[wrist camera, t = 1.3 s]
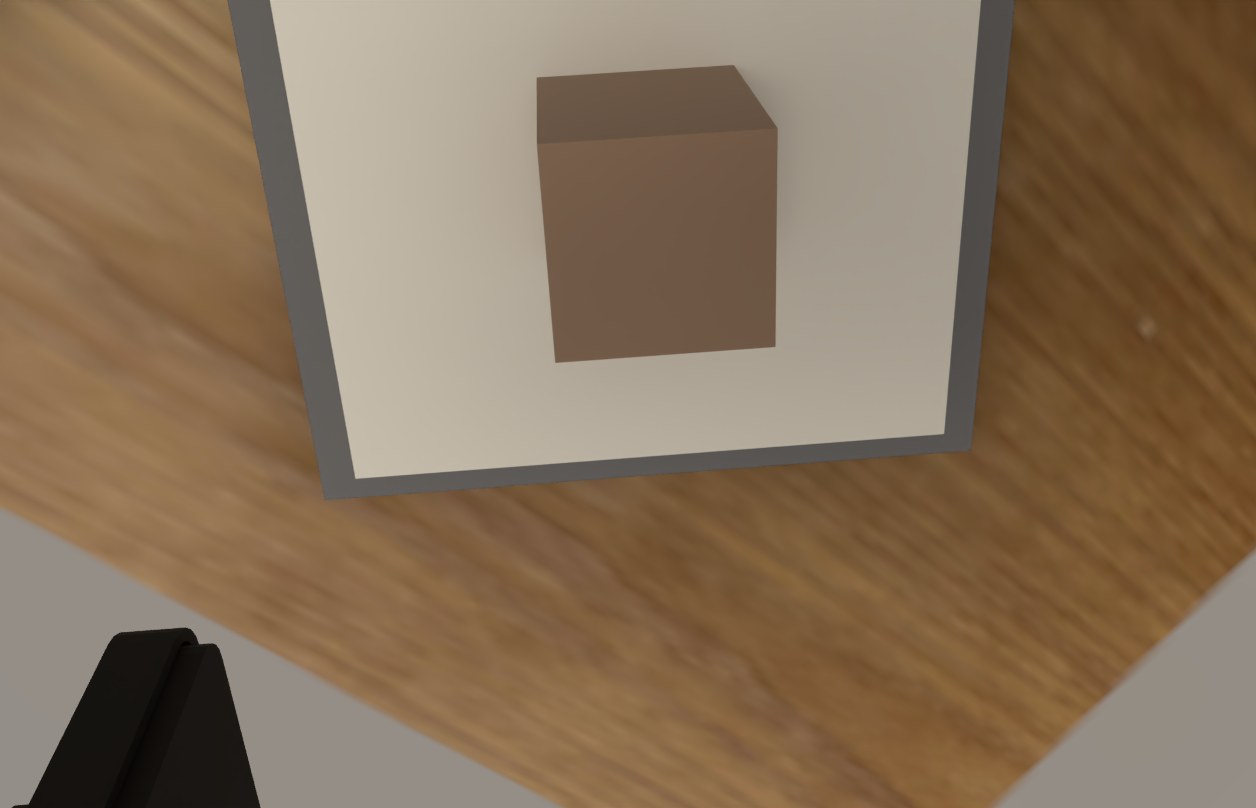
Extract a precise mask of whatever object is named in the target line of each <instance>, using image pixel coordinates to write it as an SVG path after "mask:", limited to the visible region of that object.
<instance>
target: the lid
mask: <svg viewBox="0 0 1256 808" xmlns="http://www.w3.org/2000/svg"><path fill="white" fill-rule="evenodd" d="M270 4H271V9H272V15H273V21H274V26H275V32H276V37H277V43H278V49H279V54H280V60H281V65H282V71H283V77H284V82H285V88H286V93H287V99H288V104H289V110H290V116H291V121H292V127H293V132H294V138H295V144H296V149H297V155H298V160H299V166H300V172H301V177H302V183H303V188H304V194H305V200H306V205H307V211H308V216H309V222H310V227H311V233H312V239H313V244H314V250H315V255H316V261H317V267H318V272H319V278H320V283H321V289H322V295H323V300H324V306H325V311H326V317H327V322H328V328H329V334H330V339H331V345H332V350H333V356H334V362H335V367H336V373H337V378H338V384H339V390H340V395H341V401H342V406H343V412H344V417H345V423H346V429H347V434H348V440H349V445H350V451H351V457H352V462H353V468H354V473H355V479H359V478H372V477H385V476H398V475H412V474H425V473H438V472H451V471H464V470H477V469H490V468H504V467H517V466H530V465H543V464H556V463H569V462H583V461H596V460H609V459H622V458H635V457H648V456H661V455H675V454H688V453H701V452H714V451H727V450H740V449H754V448H767V447H780V446H793V445H806V444H819V443H832V442H846V441H859V440H872V439H885V438H898V437H911V436H925V435H938V434H944V429H945V417H946V405H947V394H948V382H949V370H950V358H951V346H952V335H953V323H954V311H955V299H956V287H957V276H958V264H959V252H960V240H961V229H962V217H963V205H964V193H965V181H966V170H967V158H968V146H969V134H970V122H971V111H972V99H973V87H974V75H975V63H976V52H977V40H978V28H979V16H980V4H981V0H270Z"/></svg>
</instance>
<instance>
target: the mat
mask: <svg viewBox="0 0 1256 808" xmlns="http://www.w3.org/2000/svg"><path fill="white" fill-rule="evenodd" d="M1014 4H1015V0H981V4H980V16H979V28H978V40H977V52H976V63H975V75H974V87H973V99H972V111H971V122H970V134H969V146H968V158H967V170H966V181H965V193H964V205H963V217H962V229H961V240H960V252H959V264H958V276H957V287H956V299H955V311H954V323H953V335H952V346H951V358H950V370H949V382H948V394H947V405H946V417H945V429H944V434H938V435H925V436H911V437H898V438H885V439H872V440H859V441H846V442H832V443H819V444H806V445H793V446H780V447H767V448H754V449H740V450H727V451H714V452H701V453H688V454H675V455H661V456H648V457H635V458H622V459H609V460H596V461H583V462H569V463H556V464H543V465H530V466H517V467H504V468H490V469H477V470H464V471H451V472H438V473H425V474H412V475H398V476H385V477H372V478H359V479H355V473H354V468H353V462H352V457H351V451H350V445H349V440H348V434H347V429H346V423H345V417H344V412H343V406H342V401H341V395H340V390H339V384H338V378H337V373H336V367H335V362H334V356H333V350H332V345H331V339H330V334H329V328H328V322H327V317H326V311H325V306H324V300H323V295H322V289H321V283H320V278H319V272H318V267H317V261H316V255H315V250H314V244H313V239H312V233H311V227H310V222H309V216H308V211H307V205H306V200H305V194H304V188H303V183H302V177H301V172H300V166H299V160H298V155H297V149H296V144H295V138H294V132H293V127H292V121H291V116H290V110H289V104H288V99H287V93H286V88H285V82H284V77H283V71H282V65H281V60H280V54H279V49H278V43H277V37H276V32H275V26H274V21H273V15H272V9H271V4H270V0H228V5H229V10H230V15H231V20H232V25H233V30H234V35H235V41H236V46H237V51H238V56H239V61H240V66H241V71H242V77H243V82H244V87H245V92H246V97H247V102H248V107H249V113H250V118H251V123H252V128H253V133H254V138H255V143H256V149H257V154H258V159H259V164H260V169H261V174H262V179H263V185H264V190H265V195H266V200H267V205H268V210H269V215H270V220H271V226H272V231H273V236H274V241H275V246H276V251H277V256H278V262H279V267H280V272H281V277H282V282H283V287H284V292H285V298H286V303H287V308H288V313H289V318H290V323H291V328H292V334H293V339H294V344H295V349H296V354H297V359H298V364H299V370H300V375H301V380H302V385H303V390H304V395H305V400H306V405H307V411H308V416H309V421H310V426H311V431H312V436H313V441H314V447H315V452H316V457H317V462H318V467H319V472H320V477H321V483H322V488H323V493H324V498H325V500H332V499H345V498H359V497H372V496H385V495H398V494H411V493H424V492H437V491H450V490H463V489H476V488H489V487H502V486H515V485H528V484H541V483H554V482H567V481H580V480H593V479H606V478H620V477H633V476H646V475H659V474H672V473H685V472H698V471H711V470H724V469H737V468H750V467H763V466H776V465H789V464H802V463H815V462H828V461H841V460H854V459H867V458H880V457H894V456H907V455H920V454H933V453H946V452H959V451H971V446H972V435H973V425H974V415H975V405H976V394H977V384H978V374H979V364H980V353H981V343H982V333H983V323H984V312H985V302H986V292H987V281H988V271H989V261H990V251H991V240H992V230H993V220H994V210H995V199H996V189H997V179H998V169H999V158H1000V148H1001V138H1002V128H1003V117H1004V107H1005V97H1006V87H1007V76H1008V66H1009V56H1010V45H1011V35H1012V25H1013V15H1014Z"/></svg>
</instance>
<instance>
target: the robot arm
mask: <svg viewBox="0 0 1256 808" xmlns="http://www.w3.org/2000/svg"><path fill="white" fill-rule="evenodd" d="M12 808H260V804H259V800H258V796H257V792H256V788H255V785H254V781H253V777H252V773H251V769H250V765H249V761H248V757H247V753H246V749H245V745H244V741H243V737H242V733H241V730H240V726H239V722H238V718H237V714H236V710H235V706H234V702H233V698H232V694H231V690H230V686H229V682H228V678H227V675H226V671H225V667H224V663H223V659H222V656H221V653H220V650H219V648H218V647H217V645H215V644H199V643H198V641H197V637H196V635H195V634H194V633H193V631H192V630H191V629H188V628H174V629H161V630H149V631H148V630H147V631H134V632H121V633H119V634H117V635H115V636H114V637H113V639H112V640H111V641H110V643H109V644H108V646H107V648H106V650H105V652H104V654H103V656H102V658H101V660H100V662H99V664H98V666H97V668H96V670H95V672H94V674H93V676H92V678H91V680H90V682H89V684H88V686H87V688H86V690H85V692H84V694H83V696H82V698H81V700H80V702H79V704H78V706H77V708H76V710H75V712H74V714H73V716H72V718H71V720H70V722H69V724H68V726H67V728H66V730H65V732H64V735H63V737H62V738H61V740H60V742H59V744H58V746H57V748H56V750H55V752H54V754H53V756H52V758H51V760H50V763H49V764H48V767H47V769H46V771H45V773H44V775H43V777H42V779H41V781H40V783H39V785H38V787H37V789H36V791H35V793H34V795H33V797H32V799H31V801H30V803H29V805H18V806H13V807H12Z"/></svg>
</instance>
